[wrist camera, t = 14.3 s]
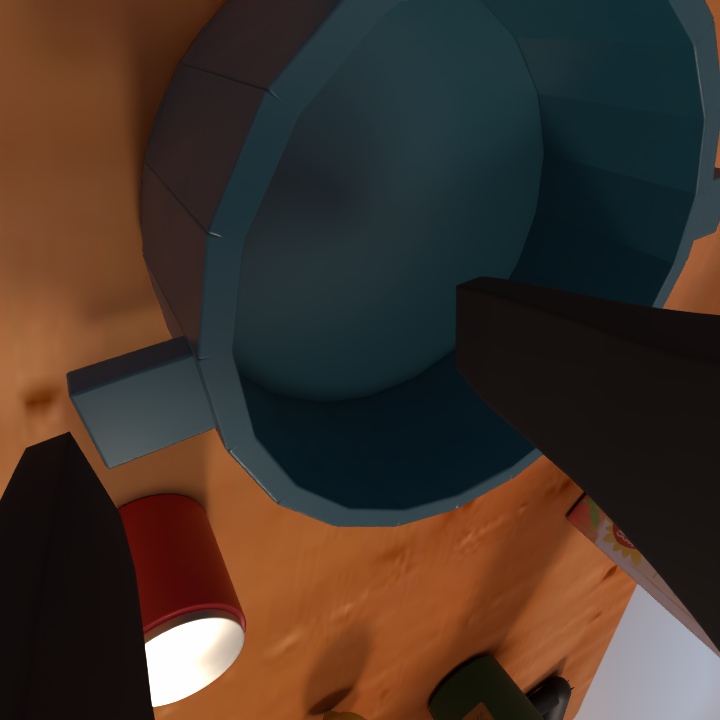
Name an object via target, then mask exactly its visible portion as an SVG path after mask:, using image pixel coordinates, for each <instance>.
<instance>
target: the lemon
mask: <svg viewBox="0 0 720 720" xmlns="http://www.w3.org/2000/svg"><path fill="white" fill-rule="evenodd" d="M323 720H366V719H365V718H363V717H362V716H360V715H358V714H356V713H352V712H341V713H337V712H335V711H332V710H329V711H327V712H326V713H325V714H324V717H323Z"/></svg>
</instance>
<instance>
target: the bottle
mask: <svg viewBox="0 0 720 720" xmlns="http://www.w3.org/2000/svg"><path fill="white" fill-rule="evenodd" d="M429 712H430V714H431V716H432V718H433V719H434V720H545V719H544V718H543V717H542V715H541V714H540V713H539V712H538V710H537V709H536V708H535V707H534V705H533V704H532V703H531V702H530V701H529V699H528V698H527V697H526V696H525V694H524V693H523V692H522V691H521V690H520V688H519V687H518V686H517V685H516V683H515V682H514V681H513V680H512V679H511V677H510V676H509V675H508V674H507V672H506V671H505V670H504V669H503V667H502V666H501V665H500V664H499V663H498V661H497V660H496V659H495V658H494V657H492V656H483V657H479V658H476V659H472V660H471V661H469V662H467V663H466V664H464V665H462V666H461V667H459V668H458V669H457V670H455V671H454V672H453V673H452V674H451V675H450V676H449V677H448V678H447V679H445V680H444V682H443V683H442V684H441V686H440V687H439V688H438V690H437V691H436V692H435V694H434V696H433V699H432V702H431V706H430V711H429Z"/></svg>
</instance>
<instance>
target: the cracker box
mask: <svg viewBox="0 0 720 720" xmlns="http://www.w3.org/2000/svg"><path fill="white" fill-rule="evenodd" d="M567 519H568V520H569V521H570V522H571V523H572V524H573V525H574V526H575V527H576V528H577V529H578V530H579V531H580V532H582V533H583V534H584V535H585V536H586V537H587V538H588V539H589V540H590V541H591V542H593V543H594V544H595V545H596V546H597V547H598V548H599V549H600V550H601V551H602V552H604V553H605V554H606V555H607V556H608V557H609V558H610V559H611V560H612V561H613V562H615V563H616V564H617V565H618V566H619V567H620V568H621V569H622V570H623V571H625V572H626V573H627V574H628V575H629V576H630V577H631V578H632V579H633V580H634V581H636V582H637V583H638V584H639V585H640V586H641V587H642V588H643V589H644V590H645V591H647V592H648V593H649V594H650V595H651V596H652V597H653V598H654V599H655V600H657V601H658V602H659V603H660V604H661V605H662V606H663V607H664V608H665V609H666V610H668V611H669V612H670V613H671V614H672V615H673V616H674V617H675V618H677V619H678V620H679V621H680V622H681V623H682V624H683V625H684V626H685V627H686V628H688V629H689V630H690V631H691V632H692V633H693V634H694V635H695V636H696V637H697V638H699V639H700V640H701V641H702V642H703V643H704V644H705V645H706V646H707V647H709V648H710V649H711V650H712V651H713V652H714V653H715V654H716V655H717V656H719V657H720V652H719V651H718V649H717V648H716V647H715V645H714V644H713V643H712V641H711V640H710V639H709V637H708V636H707V635H706V633H705V632H704V631H703V629H702V628H701V627H700V625H699V624H698V623H697V621H696V620H695V619H694V617H693V616H692V615H691V614H690V612H689V611H688V610H687V609H686V607H685V606H684V605H683V604H682V602H681V601H680V600H679V599H678V598H677V596H676V595H675V594H674V593H673V591H672V590H671V589H670V588H669V586H668V585H667V584H666V583H665V582H664V580H663V579H662V578H661V577H660V575H659V574H658V573H657V572H656V570H655V569H654V568H653V567H652V566H651V565H650V563H649V562H648V561H647V560H646V559H645V558H644V557H643V555H642V554H641V553H640V552H639V551H638V550H637V549H636V547H635V546H634V545H633V544H632V543H631V542H630V541H629V539H628V538H627V537H626V536H625V535H624V534H623V533H622V531H621V530H620V529H619V528H618V527H617V526H616V525H615V524H614V523H613V522H612V520H611V519H610V518H609V517H608V516H607V515H606V514H605V513H604V512H603V511H602V510H601V509H600V508H599V507H598V505H597V504H596V503H595V502H594V501H593V500H592V499H591V498H590V497H589V496H588V495H587V494H586V495H585V497H584V498H583V499H582V500H581V501H580V502H579V504H578V505H577V506H576V507H575V508H574V509H573V511H572V512H571V514H570V515H569V516H568V518H567Z"/></svg>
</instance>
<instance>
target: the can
mask: <svg viewBox="0 0 720 720" xmlns="http://www.w3.org/2000/svg"><path fill="white" fill-rule="evenodd" d="M118 511H119V513H120V514H121V517H122V521H123V524H124V528H125V532H126V535H127V539H128V543H129V546H130V550H131V554H132V558H133V562H134V566H135V570H136V577H137V584H138V592H139V600H140V607H141V615H142V623H143V631H144V640H145V648H146V656H147V664H148V672H149V680H150V688H151V697H152V705H153V707H154V706H160V705H164V704H168V703H171V702H174V701H177V700H179V699H182V698H184V697H186V696H189V695H191V694H193V693H195V692H196V691H198V690H200V689H202V688H203V687H205V686H207V685H208V684H209V683H211V682H212V681H214V680H215V679H216V678H218V677H219V676H220V675H221V674H222V673H223V672H225V671H226V670H227V669H228V668H229V667H230V665H231V664H232V663H233V662H234V661H235V659H236V658H237V656H238V655H239V653H240V651H241V649H242V647H243V644H244V638H245V637H244V634H245V630H246V620H245V616H244V614H243V611H242V608H241V606H240V603H239V600H238V598H237V595H236V592H235V590H234V587H233V584H232V582H231V579H230V576H229V574H228V571H227V568H226V566H225V563H224V560H223V558H222V555H221V552H220V550H219V547H218V544H217V542H216V539H215V536H214V534H213V531H212V528H211V526H210V523H209V520H208V518H207V515H206V513H205V511H204V509H203V508H202V507H201V505H199V504H198V503H197V502H196V501H194V500H192V499H190V498H188V497H185V496H180V495H173V494H164V495H155V496H150V497H146V498H142V499H139V500H137V501H134V502H132V503H130V504H127V505H125V506H124V507H122V508H120V509H118Z"/></svg>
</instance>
